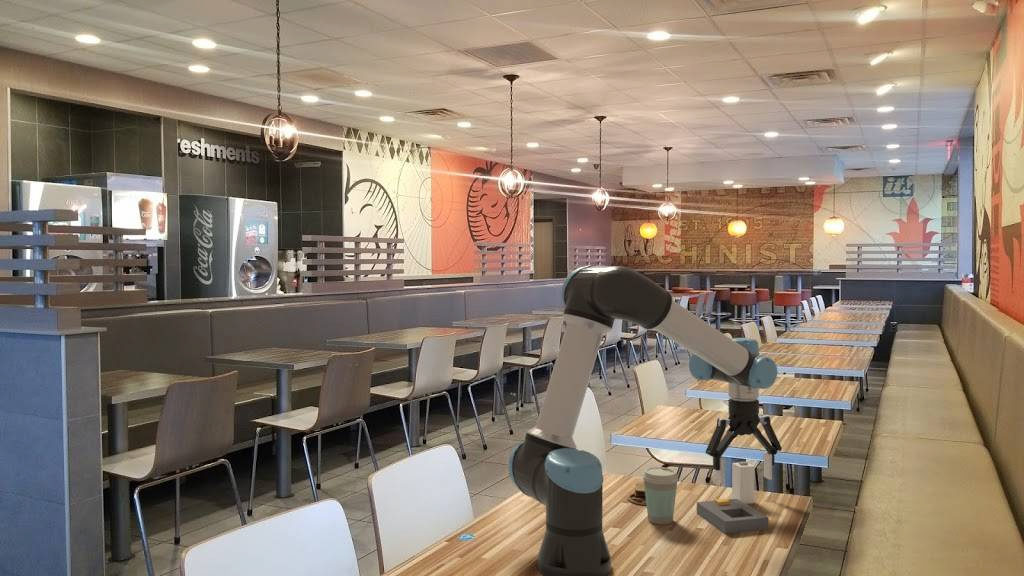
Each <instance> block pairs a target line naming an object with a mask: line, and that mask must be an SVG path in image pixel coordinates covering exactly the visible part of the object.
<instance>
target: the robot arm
mask: <svg viewBox="0 0 1024 576" xmlns="http://www.w3.org/2000/svg"><path fill="white" fill-rule="evenodd" d="M561 299H562V301H563V306H564V311H563V313H562V317H563V320H564V322H565V325H566V326H565V329H564V333H563V336H562V339H561V342H560V345H559V349H558V351H557V355H556V359H555V361H554V365H553V369H552V372H551V375H550V378H549V381H548V385H547V388H546V390H545V395H544V399H543V401H542V405H541V408H540V411H539V414H538V418H537V419H536V424H535V425H534V427H532V428H529V429H528V430H527V431H526V434H525V437H524V439H523V440H524V441H521V442H520V443H519V444H518V445H515V447H514V448H513V450H511V451H512V452H511V454H510V455H509V459H508V464H507V465H508V474H509V478H510V480H511V482H512V483H513V485H514V486H515V488H517V489H519V490H520V492H521V493H522V494H524V495H526V497H528V498H529V497H530V498H532V499H534V500H535V501H537V502H538V503H540V504H542V505H544V506H545V532H544V535H543V538H542V541H541V544H540V548H539V551H538V554H537V569H538V571H539V573H540V574H542V575H543V576H608V575H609V574H610V573H611V571H612V557H611V554H610V550H609V548H608V547H609V546H608V544H607V541H606V539H605V538H606V537H605V535H604V531H603V530H604V529H603V484H604V475H603V466H602V462H601V461H600V459H599V458H598V457H597V456H596V454H593V453H591V452H589V451H587V450H583V449H581V450H579V449H578V448H577V447H578V446H577V445H576V443H575V440H574V437H573V436H574V433H575V431H576V430H575V429H576V427H577V423H578V421H579V416H580V413H581V410H582V406H583V404H584V403H583V402H584V400H585V397H586V393H587V390H588V387H589V384H590V380H591V376H592V373H593V369H594V366H595V363H596V360H597V356H598V353H599V349H600V346H601V343H602V340H603V337H604V335H606V334H608V333H610V332H611V331H612V330H613V327H614V324H615V320H620V321H621V320H622V321H626V322H629V323H633V324H635V325H637V326H640V327H641V328H643V329H644V330H647V331H652V330H655V331H656V332H658V333H660V334H661V335H663V336H664V337H666V338H668V339H669V340H671V341H673V342H674V343H675V344H677V345H678V346H680V347H682V348H683V349H685V350H686V351H689V352H690V353H691V355H690V357H689V360H688V370H689V372H690V374H691V376H692V377H693V379H695V380H697V381H706V382H708V381H711V380H714V381H720V382H725V383H727V385H728V387H727V388H728V389H727V391H728V393H727V394H728V397H729V399H728V403H727V404H728V418H722V417H718V418H717V420H716V427H715V429H714V430H713V431H714V432H713V433H712V435H711V437H710V440H709V443H708V445H707V447H706V449H705V454H706V455H708V456H710V457H712V468H713V469H714V471H715V482H717V483H719V484H720V485H723V484H725V481H724V480H725V476H724V475H725V474H724V473H725V472H724V471H725V466H724V465H725V463H724V462H725V458H724V457H722V456H723V454H724V453H725V452H726V450H727V449H728V448H729V447H730V446H731V444H732V442H733V441H734V439H736V438H737V437H738V436H740V437H741V436H745V435H748V436H752V435H753V437H755V439H756V440H757V441H758V442H759V444H761V446H762V447H763V448H764V449H765V451H763V478H765V479H767V480H772V479H773V466H775V455H777V454H778V451H779V452H781V451H782V445H781V443H780V441H779V439H778V437H777V435H776V433H775V430H774V428H773V425H772V423H771V417H770V416H768V415H766V414H761V415H760V416H759V413H760V401H759V399H758V398H759V397H760V389H761V390H767V389H768V388H771V387H772V386H773V385H774V384H775V382H776V380H777V377H778V366H777V364H776V362H775V361H774V359H772V358H770V357H767V356H764V355H760V349H759V348H760V347H759V342H758V341H757V339H755V338H751V337H731V338H730V337H729V336H728V335H726V334H724V333H723V332H721V331H720V330H719V329H717V328H715V327H714V326H712V325H710V324H709V323H708V322H706V321H705V320H704V319H702V318H700V317H699V316H697V315H696V314H694V313H693V312H692V311H689V310H688V309H687V308H685V307H684V306H682V305H681V304H679V303H678V302H676V301H675V300H674V298H673V295H672V293H670V291H669V290H667V289H666V288H664V287H662V286H661V285H659V284H657V283H656V282H655V281H653V280H651V279H650V278H649V277H647V276H645V275H643V274H641V273H640V272H638V271H636V270H635V269H632V268H630V267H626V266H623V265H613V266H612V265H597V264H596V265H594V264H589V265H587V266H586V265H585V266H582V267H578V268H576V269H574V270H573V271H571V272H570V273H569V274H568V275H567V276H566V278H565V279H564V282H563V284H562V287H561ZM759 424H760V425H761V426H762V428H763V430H764V432H765V434H766V436H767V438H768V440H767V438H766V437H765V436H764V435H763V433H762V431H761V430H760V429H759V428H758V426H759ZM728 425H729V427H728ZM727 428H728V429H727ZM726 429H727V430H726ZM725 431H726V432H725Z"/></svg>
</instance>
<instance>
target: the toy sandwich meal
mask: <svg viewBox="0 0 1024 576" xmlns="http://www.w3.org/2000/svg"><path fill="white" fill-rule="evenodd" d="M635 485H636V487H635V488H634V492H633V493H630V494H628V496H627V499H628V500H629V502H630V503H633V504H635V505H640V506H647V505H646V496H645V487H644V481H640V482H636V483H635Z"/></svg>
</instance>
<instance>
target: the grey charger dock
mask: <svg viewBox="0 0 1024 576" xmlns="http://www.w3.org/2000/svg"><path fill="white" fill-rule="evenodd" d="M696 514H697V515H698V516H700V517H701V518H702V519H704V520H705V521H707V522H708V523H709V524H711V525H712V526H713V527H715V528H716V529H718V530H719V531H720V532H721V533H723V534H724V535H729V534H730V535H731V534H738V533H746V532H754V531H755V532H756V531H764V530H769V517H768V516H767V515H766V514H763V513H762V512H760V511H758V510H757V509H755V508H754V507H752V506H750V505H749V504H745V503H744V502H742V501H740V500H739V499H732V498H730V499H727V498H718V499H714V500H707V501H696Z"/></svg>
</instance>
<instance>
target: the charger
mask: <svg viewBox="0 0 1024 576" xmlns="http://www.w3.org/2000/svg"><path fill="white" fill-rule="evenodd" d="M731 465H732V467H731V471H732V472H731V475H732V477H731V481H732V482H731V499H739V500H740V501H742V502H744V503H745V504H747V505H749V504H755V470H756V469H755V465H754V464H751V463H750V462H747V461H739V462H732V463H731Z"/></svg>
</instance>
